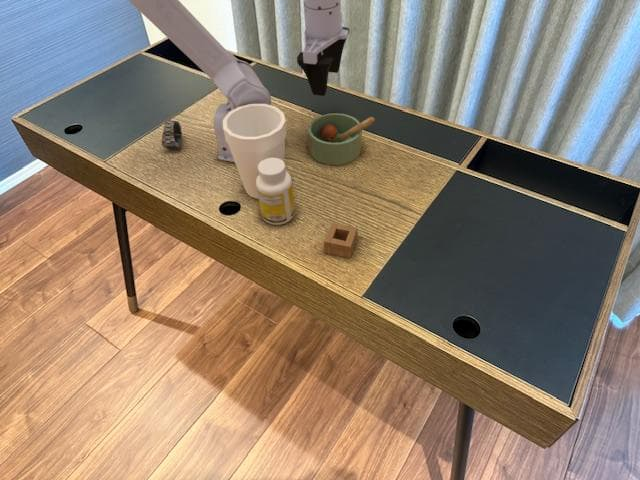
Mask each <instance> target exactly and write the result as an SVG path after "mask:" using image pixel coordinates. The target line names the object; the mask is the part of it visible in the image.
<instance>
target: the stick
mask: <svg viewBox="0 0 640 480" xmlns="http://www.w3.org/2000/svg"><path fill="white" fill-rule="evenodd" d="M375 122H376V119H375V117H374V116H369V117H367V118H366V119H364V120H362V121H361V122H360V123H359V124H358V125H356V126H354V127H353V128H351V129H350V130H348V131H346V132H345V133H343V134H341V135H340V136H338V137H336V138H335V139H333V140H332V141H330V143H340V142H343V141H345V140H346V139H348V138H350V137H351V136H353V135H355V134H356V133H358V132H360V131H361V130H362V131H363V130H365V129H367V128H368V127H370V126H372V125H373V124H374V123H375Z"/></svg>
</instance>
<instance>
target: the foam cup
mask: <svg viewBox="0 0 640 480" xmlns="http://www.w3.org/2000/svg"><path fill="white" fill-rule="evenodd" d="M286 124H287V123H286V116H285V113H284V112H283V111H282V110H280V108H278V107H277V106H273V105H272V104H271V105H267V104H249V105H244V106H240V107H238V108H236V109H234V110H232V111H231V112H229V113H228V114H227V115H226V117H225V118H224V119H223V130H224V135H225V140H226V142H227V143H228V145H229V147H230V150H231V153H232V156H233V158H234V161H235V162H234V163H235V167H236V169H237V172H238V174H239V178H240V179H241V182H242V184H243V187H244V190H245V192H246V193H247V194H248V196H250V197H252V198H255V199H257V200H259V199H258V193H257V188H256V179H257V177H258V175H259V173H258V165H259V163H260V162H261V161H263V160H265V159H267V158H279V159H281V160H282V161H283V162H284V163H285V150H286V149H285V147H286V136H287V125H286Z"/></svg>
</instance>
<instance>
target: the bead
mask: <svg viewBox="0 0 640 480" xmlns="http://www.w3.org/2000/svg"><path fill="white" fill-rule="evenodd" d="M321 136H322V138H323V139H324V140H326V141H332V140H333V139H335V138H336V136H337V129H336V127H335V126H333V125H331V124H327V125H325V126H324V127H323V128H322V130H321Z"/></svg>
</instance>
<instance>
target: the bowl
mask: <svg viewBox="0 0 640 480" xmlns="http://www.w3.org/2000/svg"><path fill="white" fill-rule="evenodd" d="M359 123H361V122H360V121H359V120H358V119H357V118H355V117H354V116H351V115H349V114H345V113H339V112H338V113H337V112H336V113H334V112H333V113H327V114H323V115H320V116H317V117H315V118H314V119H313V120H312V121H311V122H310V123H309V125H308V131H307V133H308V149H309V154H310V156H311V157H312V158H313V159H314V160H315V161H316V162H319V163H321V164H324V165H329V166H330V165H331V166H341V165H345V164H349V163H351V162H353V161H355V160H356V159H357V158H358V157H359V156H360V154H361V152H362V139H363V130H361V131H360V132H358V133H356V134H355V135H353V136H351V137H350V138H348V139H346V140H345V141H343V142H340V143H330V141H326V140H324V139H323V138H322V136H321V130H322V128H323V127H324V126H325V125H327V124H331V125H333V126H335V127H336V129H337V136H336V137H338V136H340V135H341V134H343V133H345V132H346V131H348V130H350V129H351V128H353V127H354V126H356V125H358V124H359Z"/></svg>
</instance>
